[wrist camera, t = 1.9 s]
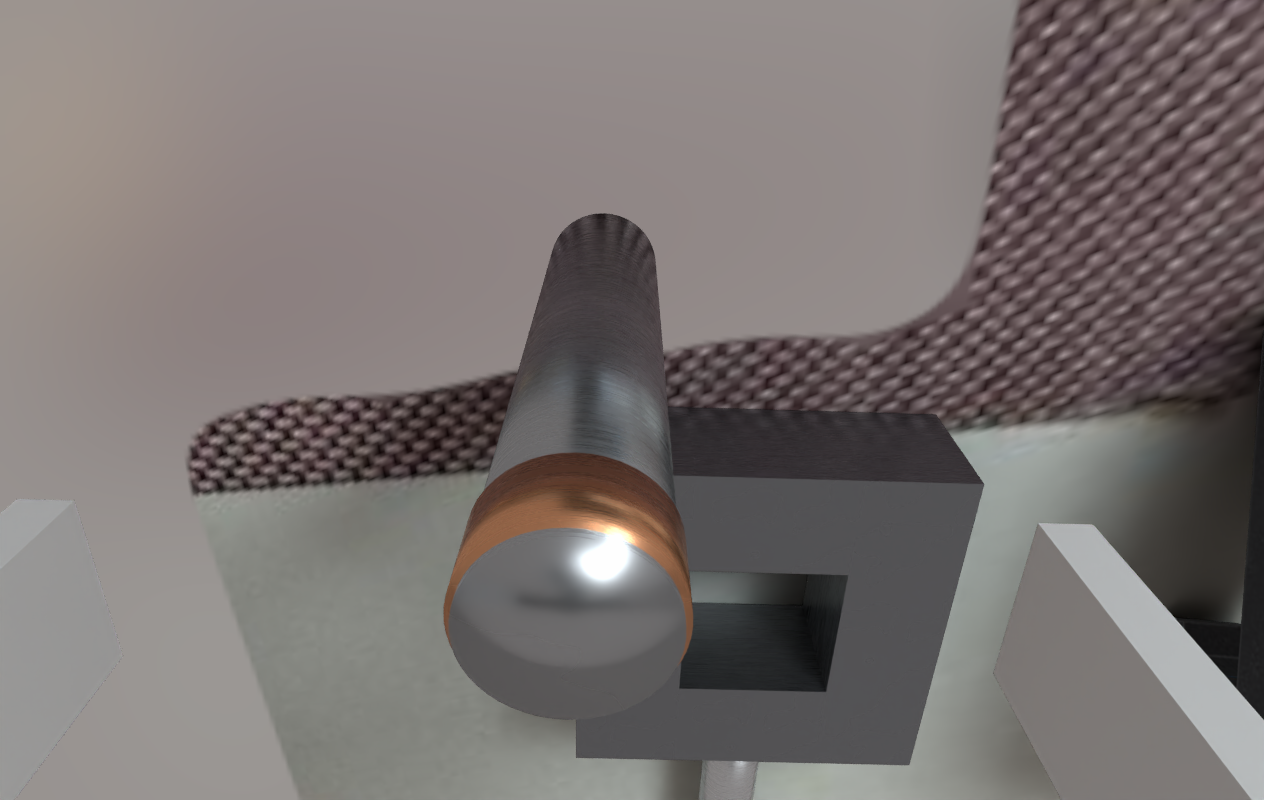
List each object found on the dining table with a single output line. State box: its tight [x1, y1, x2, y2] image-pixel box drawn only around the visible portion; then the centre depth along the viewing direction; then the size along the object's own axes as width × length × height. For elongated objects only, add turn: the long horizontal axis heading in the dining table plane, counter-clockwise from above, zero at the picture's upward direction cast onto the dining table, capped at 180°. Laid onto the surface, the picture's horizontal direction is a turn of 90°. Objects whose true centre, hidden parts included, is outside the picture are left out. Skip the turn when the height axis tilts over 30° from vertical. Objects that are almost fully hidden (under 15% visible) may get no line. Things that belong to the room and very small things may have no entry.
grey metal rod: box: [444, 214, 693, 720], centre depth 17 cm, size 3×3×15 cm
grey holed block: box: [576, 407, 984, 800], centre depth 29 cm, size 21×11×4 cm, turn 178°
